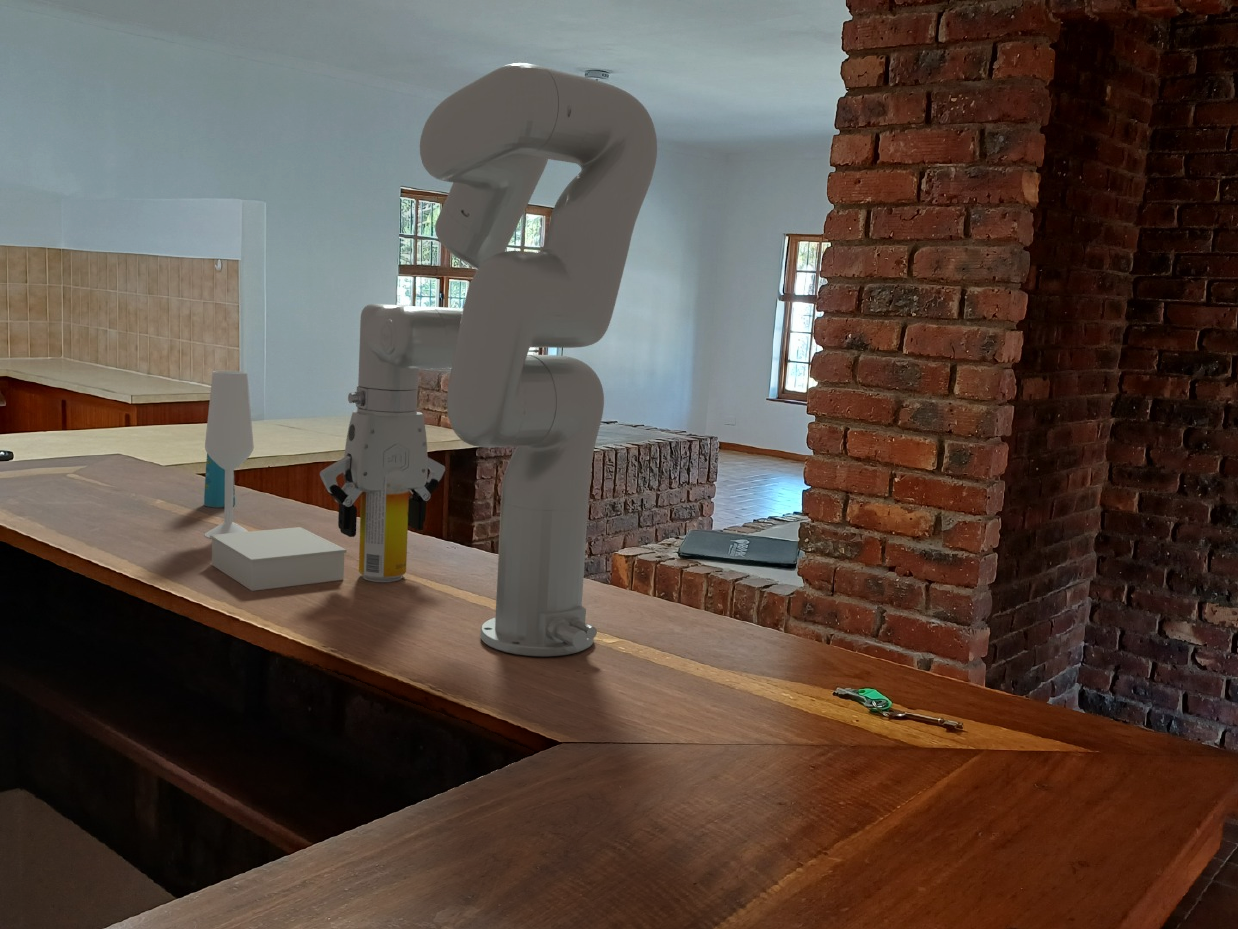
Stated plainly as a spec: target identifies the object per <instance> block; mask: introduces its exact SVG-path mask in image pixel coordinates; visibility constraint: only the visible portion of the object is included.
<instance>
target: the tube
mask: <svg viewBox="0 0 1238 929" xmlns="http://www.w3.org/2000/svg"><path fill="white" fill-rule="evenodd" d="M234 470H235V469H234ZM234 470H233V506H234V505H236V491H235V490H236V488H235V474H234V473H235V471H234ZM203 499H204V500H203V504H204V506H206V507H209V508H215V509H216V508H219V509H220V508H225V469H223V468H221V467H220V466H219V465H218V464H216V463H215V462H214V461H213V460H212V459H211V458H210V456H209V455H208V453H207V452H206V463H205V478H204V496H203Z"/></svg>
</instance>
